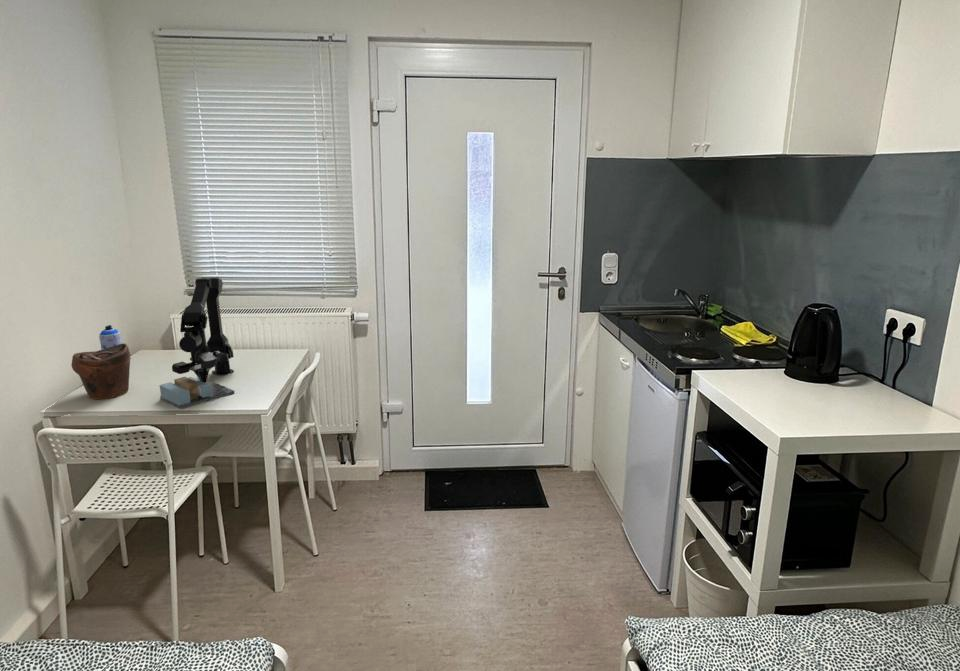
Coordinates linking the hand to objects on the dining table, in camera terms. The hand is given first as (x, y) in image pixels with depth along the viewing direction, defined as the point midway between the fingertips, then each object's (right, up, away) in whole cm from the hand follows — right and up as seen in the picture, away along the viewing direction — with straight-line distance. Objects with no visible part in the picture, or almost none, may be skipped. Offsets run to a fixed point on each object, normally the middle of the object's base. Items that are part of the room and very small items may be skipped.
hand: (204, 384), depth 231 cm
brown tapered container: (-37, -4, +2) cm, 37 cm away
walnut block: (-4, -4, -4) cm, 7 cm away
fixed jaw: (-7, -5, -7) cm, 11 cm away
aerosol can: (-48, +3, +26) cm, 54 cm away
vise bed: (-2, -4, -1) cm, 5 cm away
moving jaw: (-2, -3, -1) cm, 4 cm away
